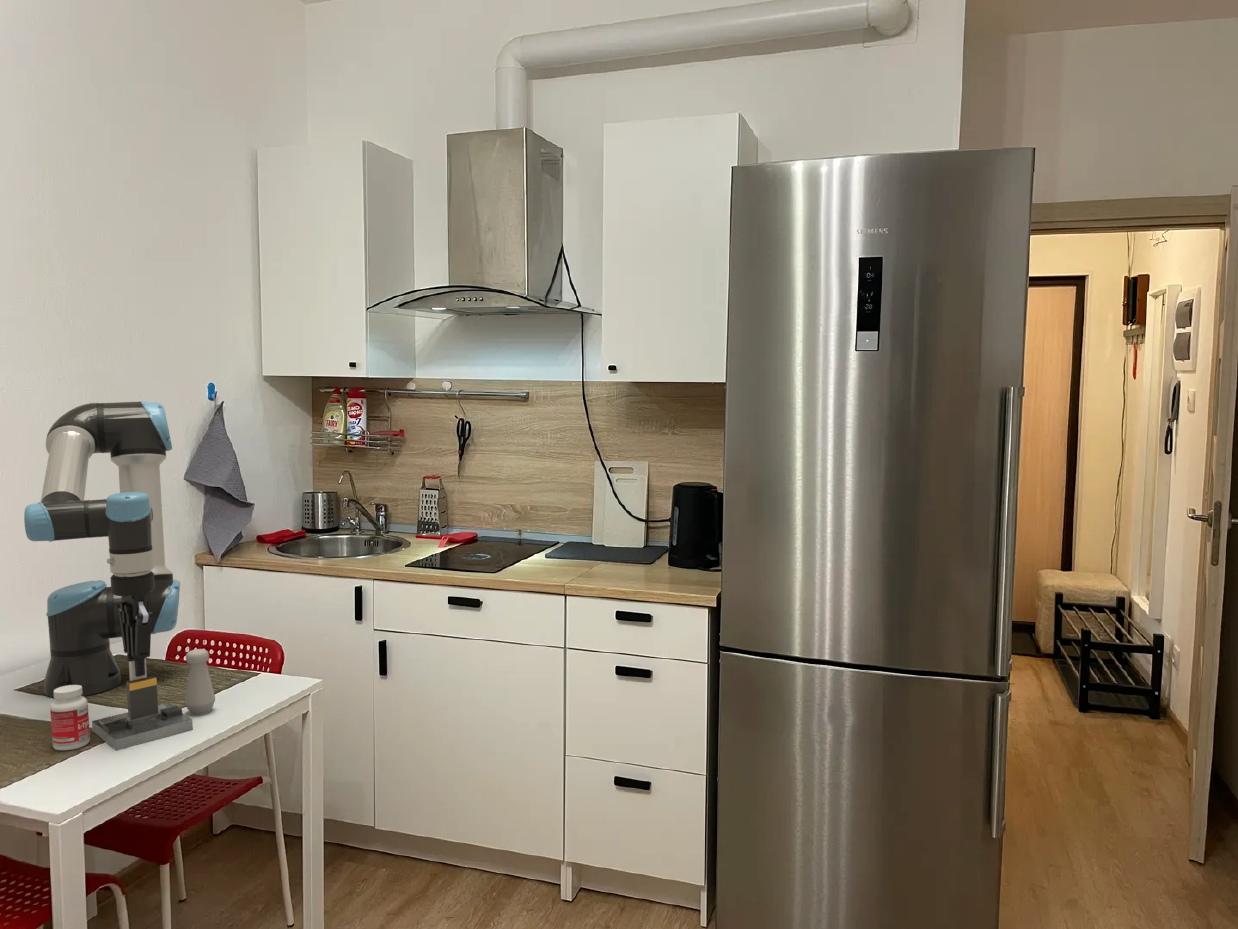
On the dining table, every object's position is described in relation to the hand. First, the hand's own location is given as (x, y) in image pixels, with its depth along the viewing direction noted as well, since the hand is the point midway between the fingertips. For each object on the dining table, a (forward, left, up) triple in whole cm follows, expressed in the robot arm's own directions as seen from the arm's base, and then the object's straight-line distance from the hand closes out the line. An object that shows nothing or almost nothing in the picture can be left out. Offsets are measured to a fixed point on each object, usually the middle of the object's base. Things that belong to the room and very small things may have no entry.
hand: (139, 690), depth 185 cm
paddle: (+1, 0, -5) cm, 5 cm away
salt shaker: (-2, +12, -8) cm, 15 cm away
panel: (0, 0, -8) cm, 8 cm away
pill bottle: (-2, -12, -8) cm, 15 cm away
